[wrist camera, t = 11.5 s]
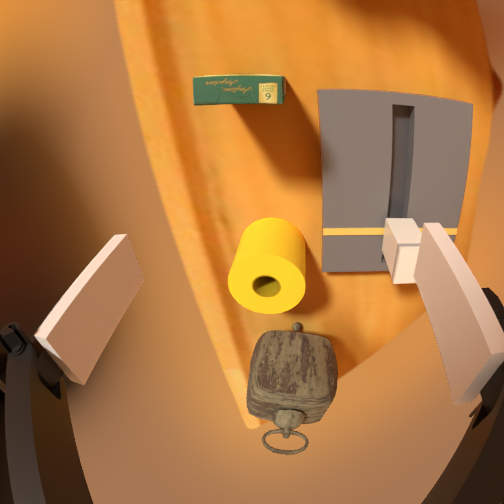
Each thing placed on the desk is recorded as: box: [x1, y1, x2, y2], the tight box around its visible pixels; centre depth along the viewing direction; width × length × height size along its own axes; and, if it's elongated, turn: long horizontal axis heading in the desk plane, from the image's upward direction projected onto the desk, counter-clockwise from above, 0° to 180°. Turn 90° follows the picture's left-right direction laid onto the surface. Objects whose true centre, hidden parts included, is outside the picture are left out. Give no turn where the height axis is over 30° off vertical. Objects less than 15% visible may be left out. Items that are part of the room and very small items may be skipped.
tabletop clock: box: [247, 322, 338, 455], centre depth 45 cm, size 14×9×25 cm, turn 86°
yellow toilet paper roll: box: [228, 218, 306, 314], centre depth 42 cm, size 10×10×9 cm
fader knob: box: [382, 218, 422, 284], centre depth 35 cm, size 5×4×10 cm
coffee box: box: [193, 74, 286, 105], centre depth 27 cm, size 8×3×13 cm, turn 89°
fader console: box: [317, 89, 473, 272], centre depth 36 cm, size 26×21×3 cm
